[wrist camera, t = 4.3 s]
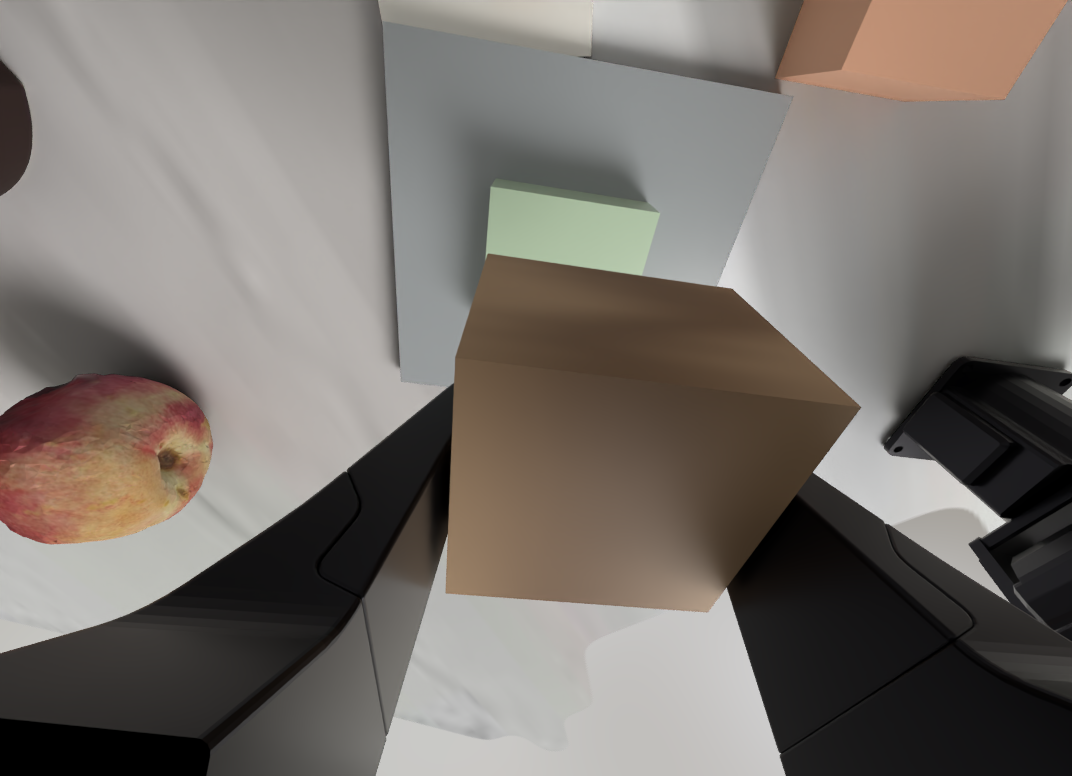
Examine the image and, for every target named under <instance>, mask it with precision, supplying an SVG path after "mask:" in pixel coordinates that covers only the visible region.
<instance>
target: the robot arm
mask: <svg viewBox="0 0 1072 776" xmlns="http://www.w3.org/2000/svg"><path fill="white" fill-rule="evenodd" d="M1071 386H1072V373H1071V372H1069V371H1067V370H1061V369H1054V368H1047V367H1040V366H1032V365H1025V364H1018V363H1011V362H1003V361H996V360H989V359H982V358H974V357H962V358H959V359H958V360H956V361H955V362H954V363H952V365H951V366H950V367H949V368H948V369H947V371H946V372H945V373H944V374H943V375H942V377H941V378H940V379H939V380H938V381H937V383H936V384H935V385H934V386H933V387H932V389H931V390H930V391H929V392H928V393H927V395H926V396H925V397H924V398H923V399H922V401H921V402H920V403H919V404H918V405H917V407H916V408H915V409H914V410H913V411H912V413H911V414H910V415H909V416H908V417H907V419H906V420H905V421H904V422H903V423H902V425H901V426H900V427H899V428H898V429H897V431H896V432H895V433H894V434H893V435H892V437H891V438H890V439H889V440H888V441H887V443H886V444H885V445H884V449H885V450H886V451H887V452H888V453H889V454H890V455H892V456H900V457H909V458H917V459H926V460H935V461H936V462H937V463H939V464H940V465H941V466H942V467H943V468H944V469H945V470H946V471H948V472H949V473H950V474H951V475H952V476H953V477H954V478H956V479H957V480H958V481H959V482H960V483H961V484H963V485H964V486H966V487H967V488H968V489H969V490H970V491H971V492H972V493H973V494H975V495H976V496H977V497H978V498H979V499H980V500H981V501H983V502H984V503H985V504H986V505H987V506H988V507H989V508H990V509H992V510H993V511H994V512H995V513H996V514H997V515H998V516H1000V517H1001V518H1002V519H1003V520H1004V521H1006V523H1005V524H1003V525H1002V526H1000V527H998V528H997V529H995V530H994V531H992V532H991V533H989V534H987V535H986V536H984V537H983V538H980V537H978V538H976V539H975V540H973V541H972V542H970V543H969V546H970V547H971V549H972V550H973V551H974V553H975V554H976V555H977V557H978V558H979V562H980V563H981V564H982V566H983V567H984V568H985V570H986V571H987V572H988V574H989V575H990V577H991V578H992V579H993V581H994V582H995V583H996V585H997V586H998V587H999V589H1000V590H1001V591H1002V592H1003V594H1004V595H1005V596H1006V598H1007V599H1008V601H1009V602H1010V603H1009V602H1008V601H1006V600H1004V599H1002V598H1001V597H999V596H998V595H996V594H995V593H993V592H991V591H990V590H988V589H987V588H985V587H983V586H982V585H980V584H979V583H977V582H975V581H974V580H972V579H971V578H969V577H967V576H966V575H964V574H963V573H961V572H960V571H958V570H956V569H955V568H953V567H952V566H950V565H949V564H947V563H946V562H944V561H942V560H941V559H939V558H938V557H936V556H935V555H933V554H932V553H930V552H929V551H927V550H926V549H924V548H923V547H921V546H920V545H918V544H917V543H915V542H914V541H912V540H911V539H909V538H908V537H906V536H905V535H903V534H902V533H901V532H899V531H898V530H896V529H895V528H893V527H892V526H890V525H889V524H885V523H884V521H883V520H881V519H880V518H878V517H877V516H875V515H874V514H873V513H871V512H870V511H868V510H867V509H865V508H864V507H862V506H861V505H859V504H858V503H856V502H855V501H853V500H852V499H850V498H849V497H848V496H846V495H845V494H843V493H842V492H840V491H839V490H837V489H836V488H834V487H833V486H831V485H830V484H828V483H827V482H826V481H824V480H823V479H821V478H820V477H818V476H817V475H815V474H814V473H812V474H811V475H810V476H809V478H808V479H807V480H806V482H805V483H804V485H803V486H802V487H801V489H800V490H799V491H798V493H797V494H796V495H795V497H794V498H793V499H792V501H791V502H790V503H789V505H788V506H787V507H786V509H785V510H784V511H783V513H782V514H781V515H780V517H779V518H778V519H777V521H776V522H775V523H774V525H773V526H772V527H771V529H770V530H769V531H768V533H767V534H766V535H765V537H764V538H763V539H762V541H761V542H760V543H759V545H758V546H757V547H756V549H755V550H754V551H753V553H752V554H751V555H750V557H749V558H748V559H747V561H746V562H745V563H744V565H743V566H742V567H741V569H740V570H739V571H738V573H737V574H736V575H735V577H734V578H733V579H732V581H731V582H730V583H729V585H728V586H727V590H728V593H729V596H730V599H731V602H732V605H733V609H734V612H735V615H736V618H737V621H738V625H739V627H740V631H741V634H742V637H743V640H744V644H745V647H746V650H747V653H748V656H749V659H750V663H751V666H752V669H753V672H754V675H755V678H756V682H757V685H758V688H759V691H760V694H761V697H762V701H763V704H764V707H765V710H766V713H767V716H768V720H769V723H770V726H771V729H772V732H773V735H774V739H775V742H776V745H777V748H778V751H779V752H780V753H781V754H780V758H781V762H782V765H783V768H784V771H785V774H786V776H1072V400H1070V399H1068V398H1066V397H1065V396H1063V395H1062V394H1063V393H1064V392H1066V391H1067V390H1068V389H1069V388H1070V387H1071ZM453 398H454V383H453V384H451V385H450V386H449V387H448V388H447V389H445V390H444V391H443V392H442V393H440V394H439V395H438V396H437V397H435V398H434V399H433V400H432V401H431V402H429V403H428V404H427V405H426V406H424V407H423V408H422V409H421V410H419V411H418V412H417V413H416V414H415V415H413V416H412V417H411V418H410V419H408V420H407V421H406V422H405V423H403V424H402V425H401V426H400V427H398V428H397V429H396V430H395V431H394V432H392V433H391V434H390V435H389V436H387V437H386V438H385V439H384V440H382V441H381V442H380V443H379V444H378V445H376V446H375V447H374V448H373V449H371V450H370V451H369V452H368V453H366V454H365V455H364V456H363V457H362V458H360V459H359V460H358V461H357V462H355V463H354V464H353V465H352V466H350V467H349V468H348V469H347V472H343V473H342V474H340V475H339V476H338V477H337V478H335V479H334V480H333V481H332V482H330V483H329V484H328V485H327V486H325V487H324V488H323V489H322V490H320V491H319V492H318V493H316V494H315V495H314V496H312V497H311V498H310V499H308V500H307V501H306V502H305V503H303V504H302V505H301V506H299V507H298V508H296V509H295V510H293V511H292V512H290V513H289V514H288V515H286V516H285V517H283V518H282V519H280V520H279V521H278V522H276V523H275V524H273V525H272V526H270V527H269V528H267V529H266V530H264V531H263V532H261V533H260V534H258V535H257V536H255V537H254V538H252V539H251V540H249V541H248V542H246V543H245V544H243V545H242V546H240V547H239V548H237V549H236V550H234V551H233V552H231V553H230V554H228V555H227V556H225V557H224V558H222V559H221V560H219V561H218V562H216V563H215V564H213V565H212V566H210V567H209V568H207V569H206V570H204V571H203V572H201V573H200V574H198V575H197V576H195V577H194V578H192V579H191V580H189V581H188V582H186V583H185V584H183V585H182V586H180V587H178V588H177V589H175V590H174V591H172V592H170V593H169V594H167V595H165V596H164V597H162V598H160V599H158V600H156V601H154V602H153V603H151V604H149V605H147V606H145V607H143V608H141V609H139V610H136V611H134V612H132V613H130V614H128V615H125V616H123V617H120V618H117V619H115V620H112V621H109V622H106V623H103V624H100V625H97V626H94V627H90V628H87V629H83V630H80V631H76V632H73V633H69V634H66V635H63V636H59V637H56V638H52V639H49V640H45V641H42V642H38V643H35V644H32V645H28V646H24V647H21V648H17V649H14V650H10V651H7V652H4V653H0V776H375V775H376V772H377V768H378V765H379V762H380V759H381V755H382V752H383V749H384V745H385V742H386V736H387V734H388V732H389V728H390V725H391V721H392V718H393V715H394V711H395V708H396V705H397V701H398V698H399V695H400V691H401V688H402V685H403V681H404V678H405V675H406V671H407V668H408V665H409V661H410V658H411V655H412V651H413V648H414V644H415V641H416V638H417V634H418V631H419V628H420V624H421V621H422V618H423V614H424V611H425V608H426V604H427V601H428V598H429V594H430V591H431V588H432V584H433V581H434V578H435V574H436V571H437V568H438V564H439V561H440V557H441V554H442V551H443V547H444V544H445V541H446V537H447V534H448V522H449V497H450V472H451V447H452V423H453Z"/></svg>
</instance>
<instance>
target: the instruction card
mask: <svg viewBox="0 0 1072 776" xmlns="http://www.w3.org/2000/svg"><path fill="white" fill-rule="evenodd" d="M378 4H379V9H380V15H381V20H382V21H385V22H391V23H396V24H402V25H407V26H413V27H418V28H424V29H429V30H434V31H440V32H445V33H451V34H456V35H462V36H467V37H472V38H478V39H483V40H489V41H494V42H500V43H505V44H510V45H516V46H521V47H527V48H532V49H538V50H543V51H549V52H554V53H559V54H565V55H570V56H576V57H591V48H592V18H593V0H378Z"/></svg>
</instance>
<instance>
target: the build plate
mask: <svg viewBox="0 0 1072 776" xmlns="http://www.w3.org/2000/svg"><path fill="white" fill-rule="evenodd" d="M382 27H383V46H384V65H385V85H386V104H387V123H388V142H389V162H390V181H391V200H392V219H393V239H394V258H395V277H396V296H397V316H398V335H399V354H400V373H401V382H409V383H417V384H425V385H434V386H442V387H449V386H450V385H451V384H453V383H454V373H455V356H456V353H457V350H458V347H459V344H460V340H461V337H462V334H463V331H464V328H465V324H466V321H467V318H468V315H469V312H470V308H471V305H472V302H473V299H474V296H475V292H476V289H477V286H478V283H479V280H480V276H481V273H482V270H483V267H484V264H485V260H486V257H487V254H488V253H489V254H496V255H503V256H510V257H517V258H523V259H530V260H537V261H544V262H551V263H558V264H565V265H572V266H578V267H585V268H592V269H599V270H606V271H613V272H620V273H627V274H633V275H640V276H647V277H654V278H661V279H668V280H675V281H682V282H689V283H695V284H702V285H709V286H716V287H717V284H718V282H719V279H720V277H721V274H722V272H723V269H724V267H725V264H726V262H727V259H728V257H729V255H730V252H731V250H732V247H733V245H734V242H735V240H736V237H737V235H738V232H739V230H740V227H741V225H742V222H743V220H744V218H745V215H746V213H747V210H748V208H749V205H750V203H751V200H752V198H753V195H754V193H755V190H756V188H757V185H758V183H759V181H760V178H761V176H762V173H763V171H764V168H765V166H766V163H767V161H768V158H769V156H770V153H771V151H772V148H773V146H774V144H775V141H776V139H777V136H778V134H779V131H780V129H781V126H782V124H783V121H784V119H785V116H786V114H787V111H788V109H789V107H790V104H791V102H792V99H793V96H788V95H782V94H777V93H771V92H766V91H761V90H755V89H750V88H744V87H739V86H733V85H728V84H722V83H717V82H712V81H706V80H701V79H695V78H690V77H684V76H679V75H674V74H668V73H663V72H657V71H652V70H646V69H641V68H636V67H630V66H625V65H619V64H614V63H608V62H603V61H597V60H592V59H587V58H581V57H576V56H570V55H565V54H559V53H554V52H549V51H543V50H538V49H532V48H527V47H521V46H516V45H510V44H505V43H500V42H494V41H489V40H483V39H478V38H472V37H467V36H462V35H456V34H451V33H445V32H440V31H434V30H429V29H424V28H418V27H413V26H407V25H402V24H396V23H391V22H385V21H382Z"/></svg>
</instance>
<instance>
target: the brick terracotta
mask: <svg viewBox="0 0 1072 776" xmlns="http://www.w3.org/2000/svg"><path fill="white" fill-rule="evenodd" d="M1067 1H1068V0H804V1H803V4H802V7H801V10H800V12H799V15H798V18H797V20H796V23H795V26H794V28H793V31H792V34H791V36H790V39H789V42H788V45H787V47H786V50H785V53H784V55H783V58H782V61H781V63H780V66H779V69H778V71H777V74H776V77H775V79H781V80H787V81H792V82H798V83H803V84H809V85H815V86H820V87H826V88H831V89H837V90H843V91H848V92H854V93H859V94H865V95H871V96H876V97H882V98H888V99H893V100H899V101H904V102H909V101H959V100H1004V99H1005V98H1006V96H1007V95H1008V93H1009V92H1010V90H1011V88H1012V87H1013V85H1014V84H1015V82H1016V81H1017V79H1018V77H1019V76H1020V74H1021V73H1022V71H1023V70H1024V68H1025V67H1026V65H1027V63H1028V62H1029V60H1030V59H1031V57H1032V56H1033V54H1034V52H1035V51H1036V49H1037V48H1038V46H1039V45H1040V43H1041V42H1042V40H1043V38H1044V37H1045V35H1046V34H1047V32H1048V31H1049V29H1050V27H1051V26H1052V24H1053V23H1054V21H1055V20H1056V18H1057V16H1058V15H1059V13H1060V12H1061V10H1062V9H1063V7H1064V6H1065V4H1066V2H1067Z"/></svg>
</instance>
